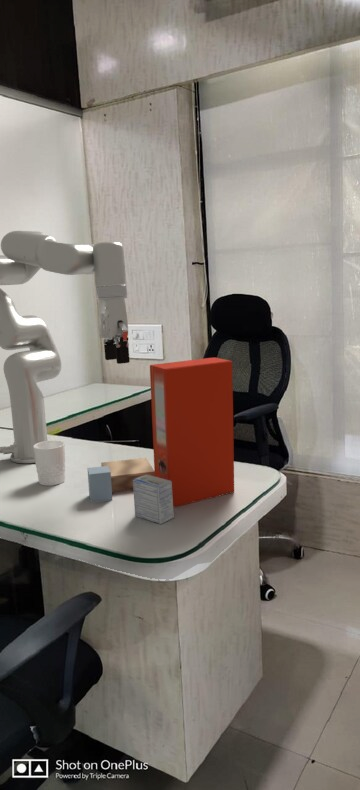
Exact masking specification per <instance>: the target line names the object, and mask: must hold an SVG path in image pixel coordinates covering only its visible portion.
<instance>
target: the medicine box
mask: <svg viewBox="0 0 360 790" xmlns="http://www.w3.org/2000/svg"><path fill="white" fill-rule="evenodd" d="M132 490H133V501H134V504H133V505H134V516H135V517H138V518H141V519H144V520H146V521H150V522H154V523H156V524H159V525H163V524H164V523H166V522H168V521H170V520H172V519H174V517H175V516H174V515H175V514H174V507H173V496H172V482H171V481H170V480H166V479H162V478H158V477H155V476H150V475H144V476H141V477H138V478H136V479H134V480H133V489H132Z"/></svg>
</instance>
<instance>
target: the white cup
mask: <svg viewBox="0 0 360 790" xmlns="http://www.w3.org/2000/svg"><path fill="white" fill-rule="evenodd" d="M33 447H34V455H35V462H36V463H35V468H36V473H37V479H38V481H37V482H38V483H39V485H41V486H48V487H49V486H57V485H60V484H63V483H64V482H65V481H66V450H65V449H66V448H65V442H64V441H61V440H47V441H45V442H40V443H37V444H35V445H34V446H33Z"/></svg>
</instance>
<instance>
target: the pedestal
mask: <svg viewBox="0 0 360 790" xmlns="http://www.w3.org/2000/svg"><path fill="white" fill-rule="evenodd" d="M100 465H101V466H108V467H109V469H110V472H111V486H112V493H114V492H122V491H123V492H124V491H129V490H130V491H131V490H133V480H134V479H136V478H138V477H141V476H144V475H150V476H155V471H154V467H152V465H151V463H150V462H149V460H148V458H147V457H141V458H133V459H123V460H115V461H113V460H112V461H104V462H103V461H102V462H101V463H100ZM101 466H100V467H101Z"/></svg>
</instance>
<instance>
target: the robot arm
mask: <svg viewBox="0 0 360 790" xmlns="http://www.w3.org/2000/svg"><path fill="white" fill-rule="evenodd" d="M0 249H1V252H2V254H3V255H2V254H1V255H0V286H15V285H23V284H26V283H28V282H29V281H31V279H32V278H34V276H35V275H36V274H37V273H38V272H39V271H40V269H42V270H44V271H46V272H49V273H55V274H58V275H59V274H60V275H65V276H66V275H67V276H69V275H70V276H74V275H75V276H77V275H79V276H80V275H94V279H95V288H96V289H95V290H96V300H97V301H98V325H99V327H98V328H99V336H100V337H101V338H102V339H103V347H104V349H103V350H104V358H105V360H106V361H109V360H111V361H112V360H116V364H118V365H119V364H122V365H123V364H129V363H130V360H131V359H130V349H129V348H130V347H129V345H130V344H129V325H128V324H129V323H128V322H129V321H128V314H127V304H126V301H125V299H128V292H127V277H126V276H127V275H126V265H125V262H126V261H125V250H124V246H123V244H122V243H121V242H119V241H118V242H117V241H104V242H98V243H95V244H93V243H64V242H58V241H57V240H56V238H55V237H53V236H51V235H47V234H46V233H44V232H41V231H35V230H34V231H30V230H13V231H10V232H7V233H6V234H5V235H4V236H3V237H2V239H1V242H0ZM0 348H1V349H2V350H5V351H13V350H22V349H29V350H22V351H17V352H15V353H12V354H10V355H9V356H8V357H6V358H5V360H4V362H3V374H4V378H5V381H6V384H7V389H8V393H9V401H10V402H9V403H10V410H11V411H10V412H11V419H12V420H11V421H12V431H13V444H9V446H4V445H3V446H0V454H3V455H9V454H10V456H9V457H10V461H11V462H13V463H15V464H16V463H17V464H33V463H35V464H36V462H35V455H34V447H33V446H34V445H35V444H37V443H40V442H45V441H48V432H47V431H48V430H47V419H46V408H45V407H46V405H45V399H44V395H43V392H42V391H41V389H40V388H39V386H38V384H37V383H41V382H45V381H48V380H52V379H55V378H56V377H58V376H59V375H60V374H61V371H62V360H61V357H60V354H59V352H58V349H57V347H56V344H55V342H54V338H53V337H52V334H51V332H50V329H49V328H48V325H47V324H46V323H45V321H44V320H43V319H42V318H40V317H39V316H37V315H34V314H33V315H29V314H27V315H20V314H19V312H18V310H17V308H16V305H15V302H13V299H12V298H11V297H10V296H9V295H8V294H7V293H6V292H5V291H4V290H3V289H2V288H0Z"/></svg>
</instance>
